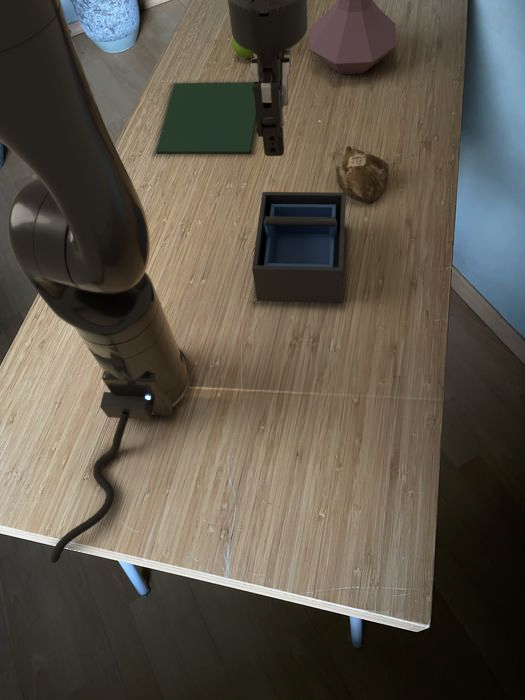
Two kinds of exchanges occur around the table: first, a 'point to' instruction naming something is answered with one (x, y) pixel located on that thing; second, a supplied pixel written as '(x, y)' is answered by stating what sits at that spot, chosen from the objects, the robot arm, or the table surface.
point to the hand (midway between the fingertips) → (276, 128)
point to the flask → (352, 36)
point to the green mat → (209, 119)
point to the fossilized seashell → (362, 175)
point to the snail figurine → (242, 50)
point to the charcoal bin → (298, 279)
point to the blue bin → (300, 235)
